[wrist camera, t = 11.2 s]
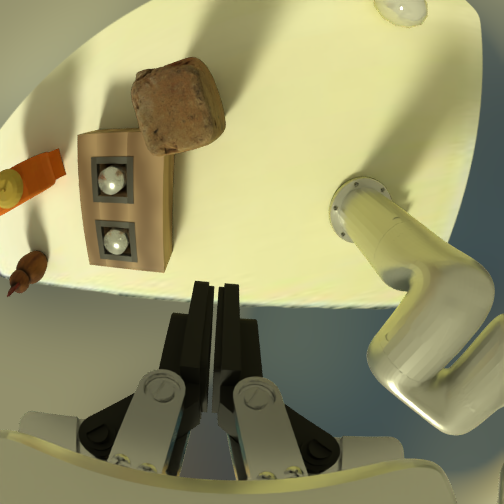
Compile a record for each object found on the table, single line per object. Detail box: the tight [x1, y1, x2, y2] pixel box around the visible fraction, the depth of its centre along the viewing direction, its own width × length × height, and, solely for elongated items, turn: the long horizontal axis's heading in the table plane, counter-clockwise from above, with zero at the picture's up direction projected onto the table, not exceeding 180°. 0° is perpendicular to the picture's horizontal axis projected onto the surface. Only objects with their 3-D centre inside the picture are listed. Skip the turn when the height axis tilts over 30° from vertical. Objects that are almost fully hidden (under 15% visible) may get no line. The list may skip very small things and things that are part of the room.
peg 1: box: [98, 164, 127, 195], centre depth 37 cm, size 4×4×7 cm
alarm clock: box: [0, 148, 66, 216], centre depth 30 cm, size 13×6×20 cm, turn 100°
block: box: [131, 57, 226, 157], centre depth 28 cm, size 11×8×20 cm
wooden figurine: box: [7, 251, 47, 297], centre depth 41 cm, size 7×6×15 cm
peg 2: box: [104, 227, 130, 255], centre depth 42 cm, size 4×4×7 cm
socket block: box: [78, 128, 175, 273], centre depth 40 cm, size 14×22×7 cm, turn 173°
